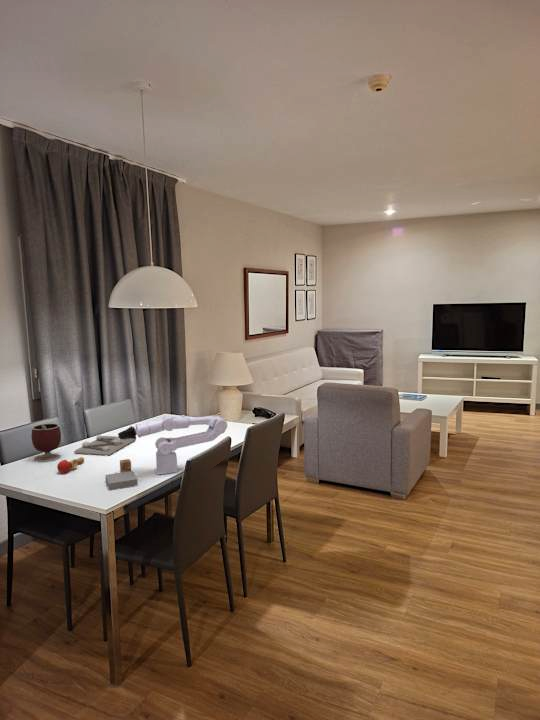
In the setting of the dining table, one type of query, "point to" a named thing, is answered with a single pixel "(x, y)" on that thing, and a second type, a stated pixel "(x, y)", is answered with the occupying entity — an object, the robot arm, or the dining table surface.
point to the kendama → (69, 464)
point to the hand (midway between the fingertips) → (118, 436)
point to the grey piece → (104, 445)
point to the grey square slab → (121, 480)
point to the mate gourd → (46, 441)
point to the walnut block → (125, 465)
